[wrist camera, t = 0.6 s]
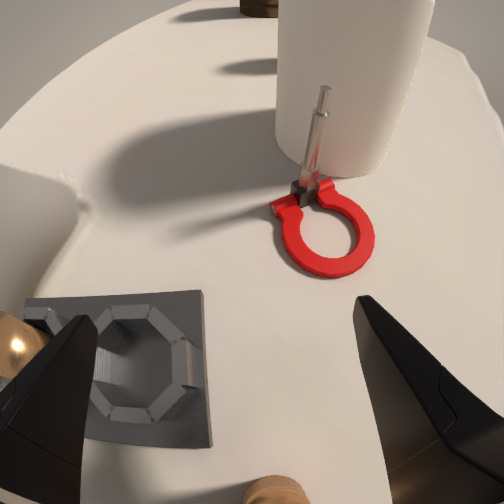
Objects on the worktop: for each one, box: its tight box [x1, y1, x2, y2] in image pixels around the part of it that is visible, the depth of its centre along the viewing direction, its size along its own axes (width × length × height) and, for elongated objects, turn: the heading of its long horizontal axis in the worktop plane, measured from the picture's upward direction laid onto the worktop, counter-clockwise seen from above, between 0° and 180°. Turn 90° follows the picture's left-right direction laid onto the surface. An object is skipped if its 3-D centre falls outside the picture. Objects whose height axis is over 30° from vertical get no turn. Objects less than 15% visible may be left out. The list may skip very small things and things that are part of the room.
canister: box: [275, 0, 435, 178], centre depth 24 cm, size 14×14×20 cm
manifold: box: [0, 290, 213, 448], centre depth 17 cm, size 18×12×8 cm, turn 95°
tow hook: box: [269, 85, 375, 278], centre depth 21 cm, size 8×13×9 cm
